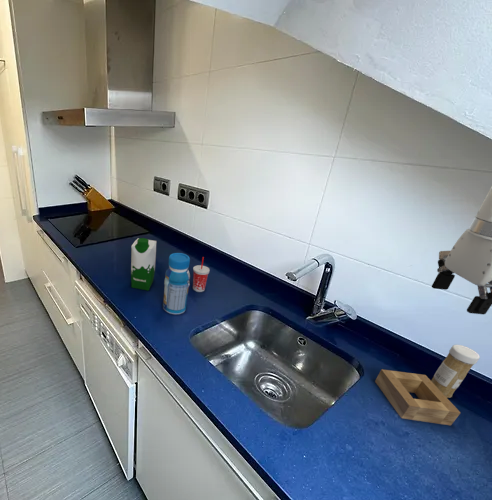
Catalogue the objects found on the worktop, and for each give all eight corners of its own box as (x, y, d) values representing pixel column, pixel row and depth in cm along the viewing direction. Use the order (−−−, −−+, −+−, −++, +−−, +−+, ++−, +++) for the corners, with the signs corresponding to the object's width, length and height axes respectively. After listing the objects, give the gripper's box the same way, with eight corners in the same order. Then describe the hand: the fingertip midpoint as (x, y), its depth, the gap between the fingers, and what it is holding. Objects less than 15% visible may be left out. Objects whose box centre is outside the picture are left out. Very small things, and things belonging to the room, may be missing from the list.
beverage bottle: (174, 318, 94) (179, 265, 86) (157, 306, 100) (160, 255, 92) (191, 309, 99) (198, 258, 91) (174, 298, 105) (179, 249, 97)
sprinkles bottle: (455, 400, 70) (486, 360, 64) (433, 395, 71) (460, 355, 65) (444, 385, 74) (471, 346, 68) (423, 380, 75) (448, 341, 69)
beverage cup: (203, 295, 107) (208, 262, 102) (188, 290, 110) (192, 258, 104) (208, 287, 112) (213, 256, 106) (194, 283, 115) (198, 252, 109)
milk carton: (128, 288, 110) (129, 240, 101) (135, 277, 118) (136, 232, 109) (150, 292, 108) (153, 244, 99) (156, 280, 116) (159, 235, 107)
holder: (417, 387, 73) (425, 374, 71) (450, 426, 64) (460, 412, 62) (374, 381, 74) (381, 369, 72) (401, 418, 65) (409, 405, 63)
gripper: (570, 248, 50) (513, 326, 57) (478, 217, 65) (443, 282, 72) (520, 245, 51) (471, 322, 58) (442, 215, 66) (411, 279, 73)
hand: (456, 299), depth 65 cm, fingers open, 9 cm apart
